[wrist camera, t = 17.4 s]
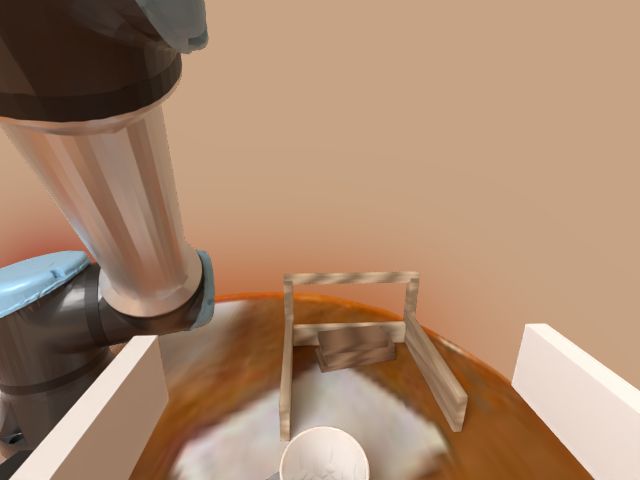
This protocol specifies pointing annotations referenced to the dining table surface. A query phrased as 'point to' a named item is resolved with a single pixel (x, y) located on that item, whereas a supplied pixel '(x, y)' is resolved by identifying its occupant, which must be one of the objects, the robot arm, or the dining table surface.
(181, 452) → the dining table surface
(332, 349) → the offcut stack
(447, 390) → the frame
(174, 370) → the dining table surface
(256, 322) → the dining table surface
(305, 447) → the white cup
